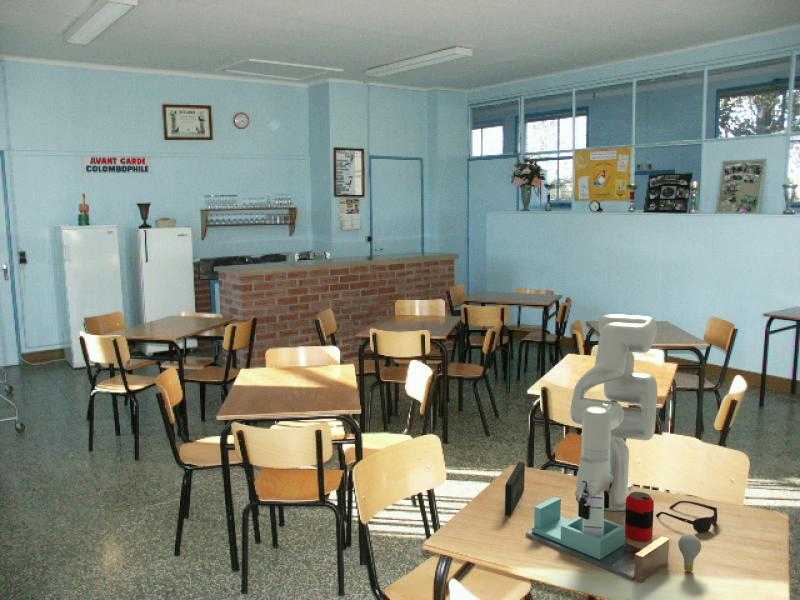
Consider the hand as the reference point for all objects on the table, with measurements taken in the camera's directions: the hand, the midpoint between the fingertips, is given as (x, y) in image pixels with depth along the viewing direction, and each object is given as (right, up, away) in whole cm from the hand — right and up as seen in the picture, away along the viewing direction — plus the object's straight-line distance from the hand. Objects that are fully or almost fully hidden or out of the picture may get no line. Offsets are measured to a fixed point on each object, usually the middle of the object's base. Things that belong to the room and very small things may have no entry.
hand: (593, 512), depth 198 cm
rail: (0, -10, +1) cm, 10 cm away
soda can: (+15, -9, +8) cm, 20 cm away
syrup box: (0, -8, +1) cm, 8 cm away
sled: (-3, -9, +5) cm, 10 cm away
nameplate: (-17, -6, +31) cm, 36 cm away
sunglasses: (+33, -8, +18) cm, 38 cm away
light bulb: (+21, -12, -11) cm, 27 cm away
